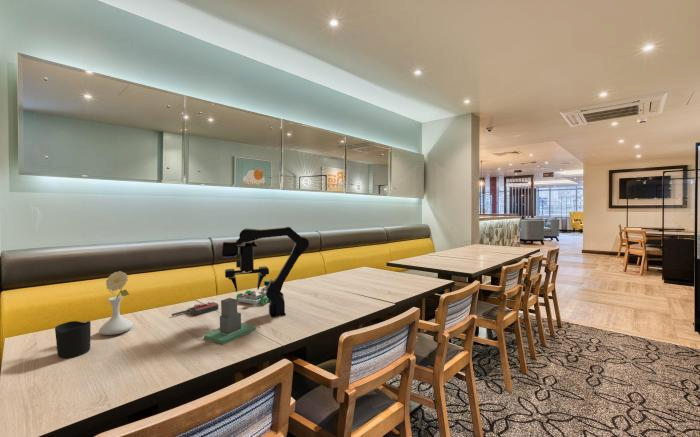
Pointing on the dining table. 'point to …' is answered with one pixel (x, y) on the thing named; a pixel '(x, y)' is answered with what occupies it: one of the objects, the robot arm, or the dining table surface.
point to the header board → (225, 338)
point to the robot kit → (254, 296)
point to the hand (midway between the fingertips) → (247, 290)
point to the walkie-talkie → (200, 309)
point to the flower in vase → (116, 306)
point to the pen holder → (73, 338)
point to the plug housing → (229, 316)
